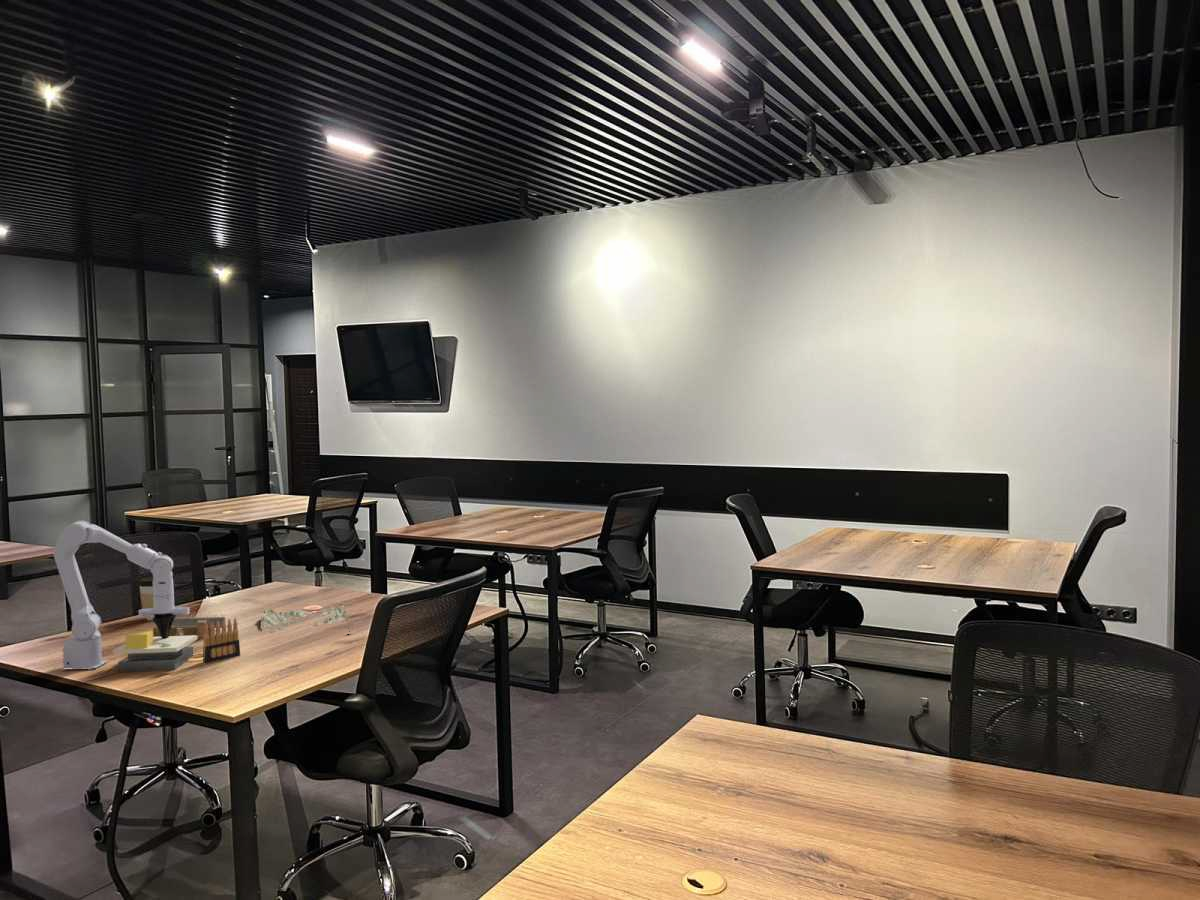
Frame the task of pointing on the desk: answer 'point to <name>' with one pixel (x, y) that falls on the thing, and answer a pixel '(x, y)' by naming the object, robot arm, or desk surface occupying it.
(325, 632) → the desk surface
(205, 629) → the ammunition clip
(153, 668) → the leveling base
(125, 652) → the plate
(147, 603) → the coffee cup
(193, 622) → the skate ramp
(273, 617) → the topographic map model
